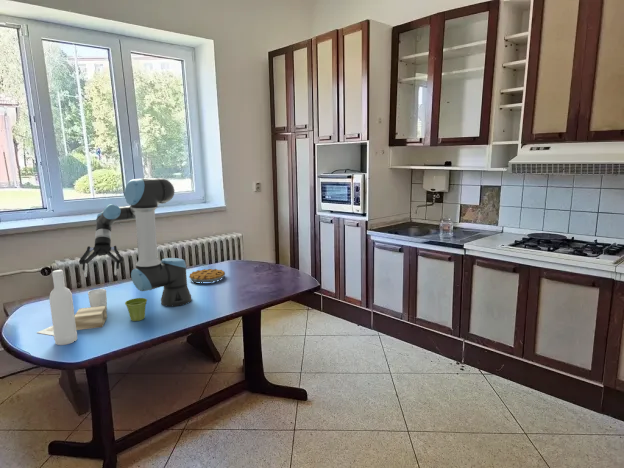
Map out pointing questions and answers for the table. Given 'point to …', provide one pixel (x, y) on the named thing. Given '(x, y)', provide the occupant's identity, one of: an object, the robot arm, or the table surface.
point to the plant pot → (136, 308)
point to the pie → (207, 275)
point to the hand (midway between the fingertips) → (100, 275)
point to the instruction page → (47, 331)
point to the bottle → (62, 311)
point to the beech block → (90, 317)
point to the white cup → (97, 298)
